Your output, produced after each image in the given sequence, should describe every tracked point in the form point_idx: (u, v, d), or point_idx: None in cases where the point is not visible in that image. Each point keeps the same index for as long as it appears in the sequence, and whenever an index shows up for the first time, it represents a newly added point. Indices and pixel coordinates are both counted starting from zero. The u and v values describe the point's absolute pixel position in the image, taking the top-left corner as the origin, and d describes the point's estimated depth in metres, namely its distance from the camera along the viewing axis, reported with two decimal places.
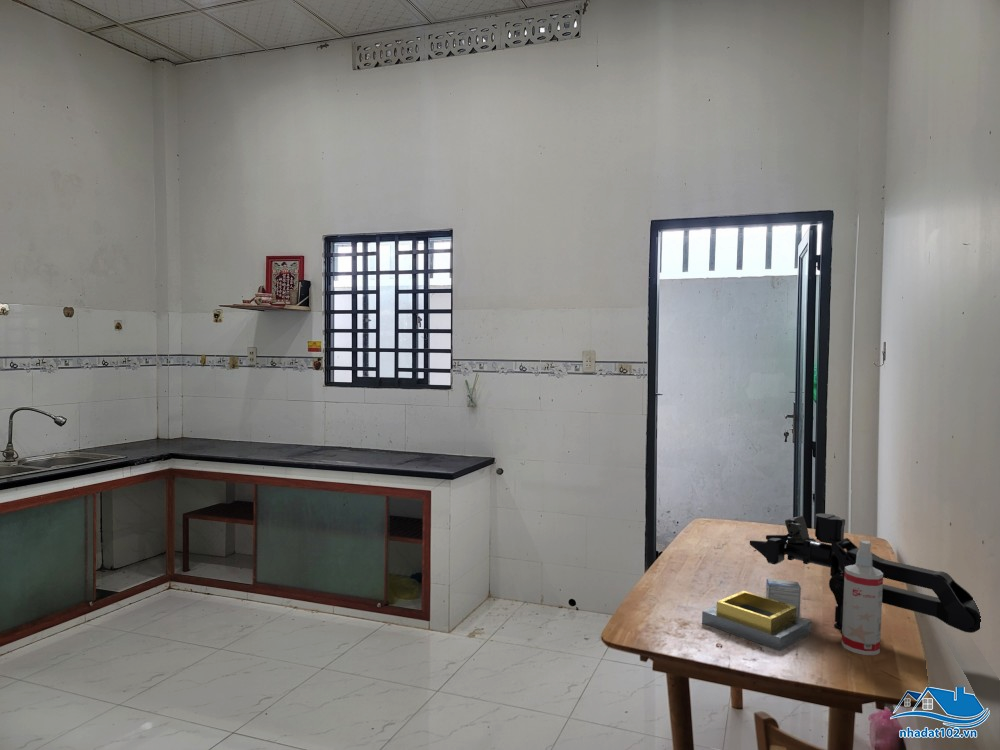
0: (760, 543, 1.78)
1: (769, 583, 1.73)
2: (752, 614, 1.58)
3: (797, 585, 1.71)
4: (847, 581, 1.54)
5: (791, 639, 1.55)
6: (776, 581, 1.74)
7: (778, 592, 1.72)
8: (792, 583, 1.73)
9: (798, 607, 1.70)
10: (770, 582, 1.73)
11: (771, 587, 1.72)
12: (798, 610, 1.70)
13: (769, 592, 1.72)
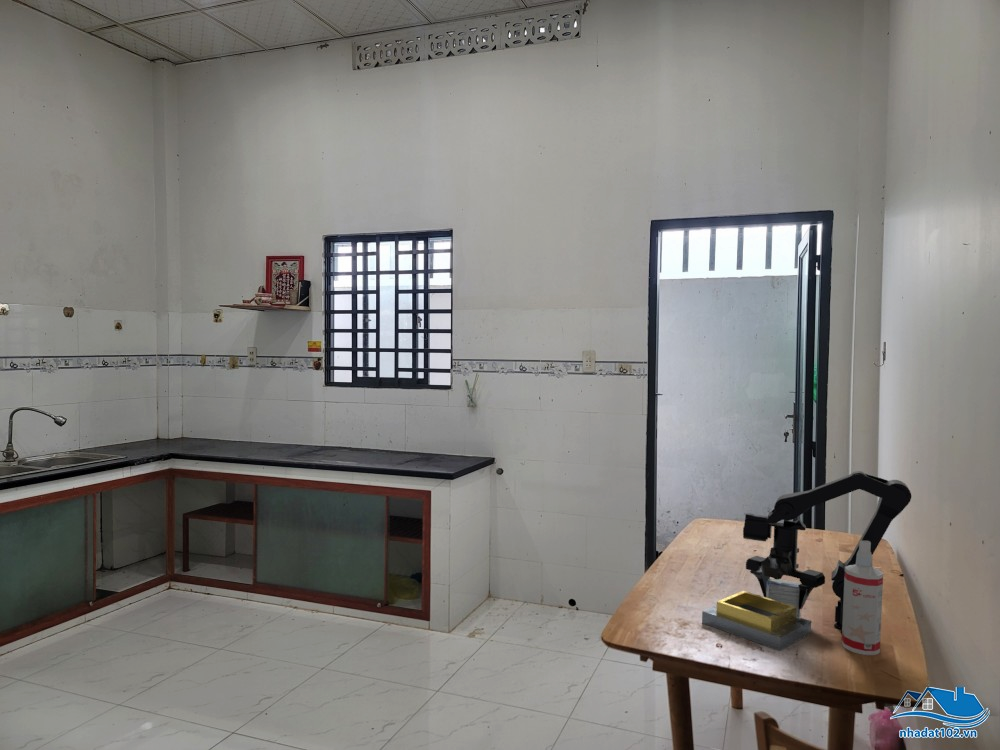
0: (804, 596, 1.68)
1: (769, 583, 1.73)
2: (752, 614, 1.58)
3: (797, 585, 1.71)
4: (847, 581, 1.54)
5: (791, 639, 1.55)
6: (776, 581, 1.74)
7: (778, 592, 1.72)
8: (792, 583, 1.73)
9: (798, 607, 1.70)
10: (770, 582, 1.73)
11: (772, 587, 1.72)
12: (798, 610, 1.70)
13: (769, 592, 1.72)
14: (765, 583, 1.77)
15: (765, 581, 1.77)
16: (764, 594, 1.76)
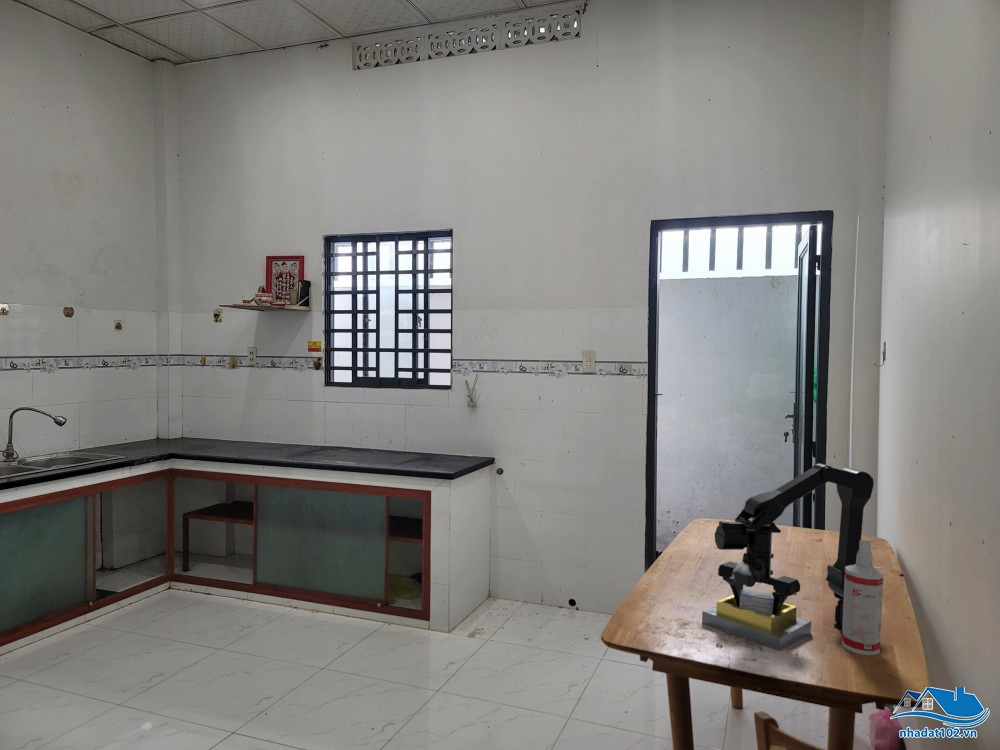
0: (778, 605, 1.59)
1: (742, 594, 1.63)
2: (752, 614, 1.58)
3: (771, 597, 1.62)
4: (847, 581, 1.54)
5: (791, 639, 1.55)
6: (749, 592, 1.65)
7: (751, 604, 1.62)
8: (766, 594, 1.63)
9: None
10: (743, 593, 1.64)
11: (744, 599, 1.63)
12: None
13: (742, 604, 1.63)
14: (738, 590, 1.67)
15: (738, 588, 1.68)
16: (737, 602, 1.67)
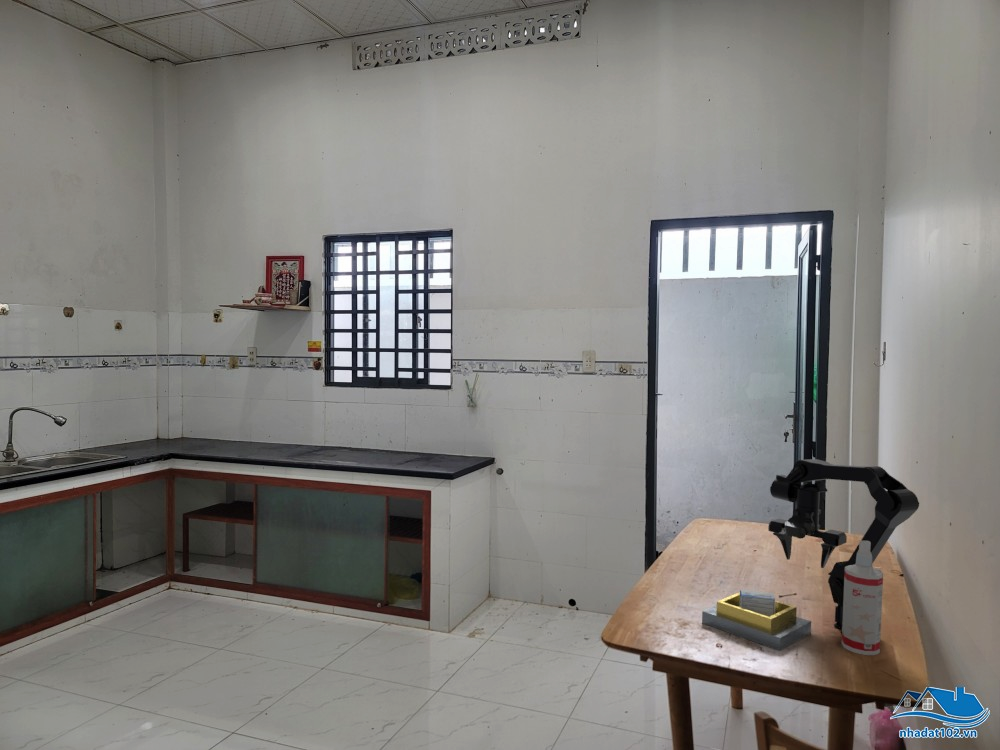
0: (826, 555, 1.74)
1: (742, 594, 1.63)
2: (752, 614, 1.58)
3: (771, 597, 1.62)
4: (847, 581, 1.54)
5: (791, 639, 1.55)
6: (749, 592, 1.65)
7: (751, 604, 1.62)
8: (766, 594, 1.63)
9: None
10: (743, 593, 1.64)
11: (744, 599, 1.63)
12: None
13: (742, 604, 1.63)
14: (787, 544, 1.82)
15: (787, 542, 1.82)
16: (786, 555, 1.82)
